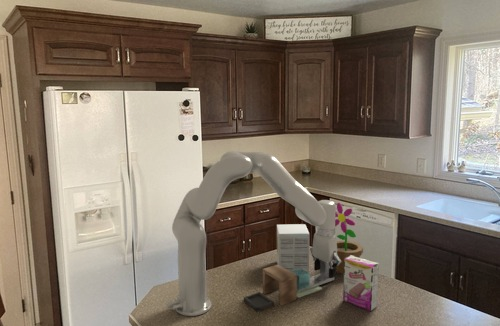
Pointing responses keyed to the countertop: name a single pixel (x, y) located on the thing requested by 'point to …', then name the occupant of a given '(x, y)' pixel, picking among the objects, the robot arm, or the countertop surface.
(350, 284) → the candy bar box
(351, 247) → the flowerpot
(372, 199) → the countertop surface
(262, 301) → the tray
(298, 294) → the board
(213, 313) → the countertop surface
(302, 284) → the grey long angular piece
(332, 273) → the robot arm
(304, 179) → the countertop surface
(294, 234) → the supplement box
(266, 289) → the tunnel
